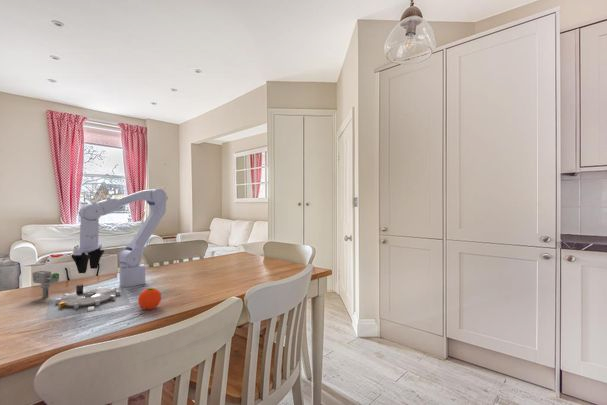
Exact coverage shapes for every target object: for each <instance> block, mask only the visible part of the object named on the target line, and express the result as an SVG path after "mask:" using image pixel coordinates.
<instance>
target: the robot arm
mask: <svg viewBox="0 0 607 405" xmlns="http://www.w3.org/2000/svg"><path fill="white" fill-rule="evenodd" d="M138 201H145V202H146V203H147V204H148V205H149V208H150V212H149V214H148V216H147V217H146V219H145V220H144V222H143V223H142V225H141V227H140V228H139V230H138V231H137V233H136V234H135V235H134V238H133V239H132V240H131V241H130V242H129V243H127V245H126V246H125V248H123V249H121V250H119V252H118V254H117V260H118V261H119V262H120V264H119V287H122V288H124V287H125V288H126V287H128V288H129V287H133V286H134V287H135V286H139V285H144V284H146V265H145V264H144V263H143V264H140V263H141V262H142V259H143V254H144V252H145V246H146V244H147V243H148V241H149V239H150V238H151V236H152V234H154V233H153V232H155V230H156V228H157V227H158V224H160V221H161V220H162V218H163V217H164V215H165V213H166V212H167V211H166V210H167V208H166V207H167V201H168V195H167V193H166V191H165V190H164V189H162V188H149V189H144V190H138V191H136V192H134V193H131V194H128V195H125V196H122V197H120V198H117V197H113V196H112V197H111V196H107V197H105V199H103V200H101V201H100V200H99V201H93V202H92V204H86V205H83V206H82V207H81V208H79V211H78V215H79V217H80V228H79V246H76V249H74V251H73V254H71V259H72V260H73V262H74V263H75V265H76V270H77V272H78V274H86V273H87V270H88V265H89V268H90V269H92V270H93V269H94V270H95V269H98V267H99V265H100V260H101V258H102V256H103V254H104V253H105V249H103V244H102V243H101V244H100V243H99V230H100V228H99V226H100V224H99V223H100V222H99V220H100V218H101V217H103V216H106V215H108V214H112V213H115V212H117V211H120V210H121V207H123V206H125V205H128V204H132V203H135V202H138ZM88 263H89V264H88Z"/></svg>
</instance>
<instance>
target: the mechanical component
mask: <svg viewBox="0 0 607 405" xmlns="http://www.w3.org/2000/svg"><path fill="white" fill-rule="evenodd" d="M31 275H32V282H33V283H34V284H41V285H40V289H42V298H48V297H49V289H50V287H51V285H52V284H55V283H58V282H59V280H60V274H59V273H57V272H52V271H47V270H37V271H34V272H32V274H31Z"/></svg>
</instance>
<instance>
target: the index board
mask: <svg viewBox="0 0 607 405" xmlns="http://www.w3.org/2000/svg"><path fill="white" fill-rule="evenodd" d="M115 288H116V291H118V290H120V295H117V296H116V299H115V300H109V301H106V302H103V303H100V305H97V306H95V305H91V306H84V307H80V308H78V309H74V307H63V308H58V304H55V300H56V299H59V298H62V297H63V296H64V295H59V296H53V297H50V298H49V303H48V307H47V311H46V315H45V318H44V321H48V320H53V319H60V318H63V317H64V318H65V317H69V316H74V315H80V314H85V313H90V312H94V311H95V312H96V311H100V310H101V311H102V310H106V309H112V308H116V307H117V308H118V307H123V306H127V305H131V302H130V300H129V297H128V296H127V295H128V294H126V292H125V290H124V287H122V286H118V287H117V286H116V287H115Z"/></svg>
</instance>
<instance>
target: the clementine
mask: <svg viewBox="0 0 607 405" xmlns="http://www.w3.org/2000/svg"><path fill="white" fill-rule="evenodd" d="M161 301H162V293H161V291H159V289H157V288H154V287H148V288H146V289H144V290H143V291H141V292H140V294H139V296H138V305H139V306H140V307H141V309H143V310H153V309H154V308H157V307H158V306H159V304H160V302H161Z"/></svg>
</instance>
